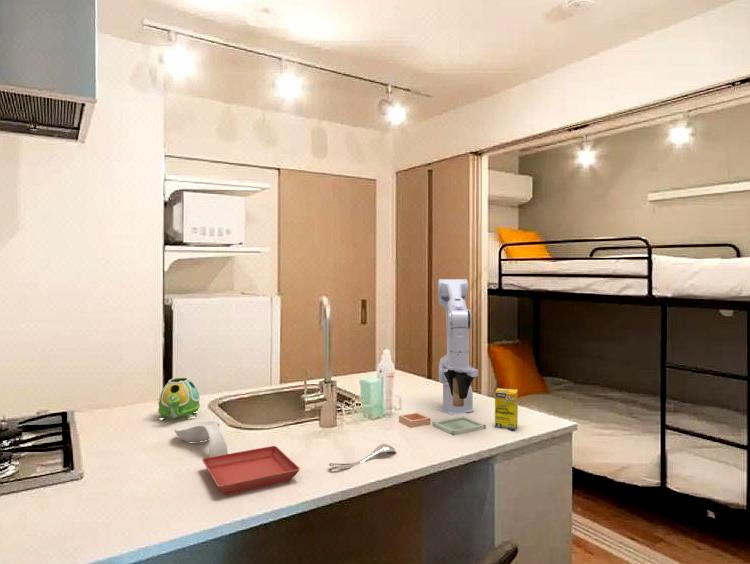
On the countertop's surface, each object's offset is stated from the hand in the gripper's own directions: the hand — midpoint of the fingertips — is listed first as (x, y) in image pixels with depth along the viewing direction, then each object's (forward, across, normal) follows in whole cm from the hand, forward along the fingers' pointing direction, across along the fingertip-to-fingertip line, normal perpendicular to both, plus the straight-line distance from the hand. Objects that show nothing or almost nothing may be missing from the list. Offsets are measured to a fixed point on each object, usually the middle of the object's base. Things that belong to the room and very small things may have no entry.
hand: (459, 396), depth 149 cm
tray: (+9, 0, 0) cm, 9 cm away
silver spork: (+10, +8, -36) cm, 39 cm away
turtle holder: (+10, -53, -70) cm, 88 cm away
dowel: (+2, 0, 0) cm, 2 cm away
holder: (+9, -10, -9) cm, 16 cm away
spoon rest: (+10, -23, -68) cm, 72 cm away
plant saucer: (+10, +3, -63) cm, 64 cm away
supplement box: (+10, +6, +13) cm, 17 cm away
